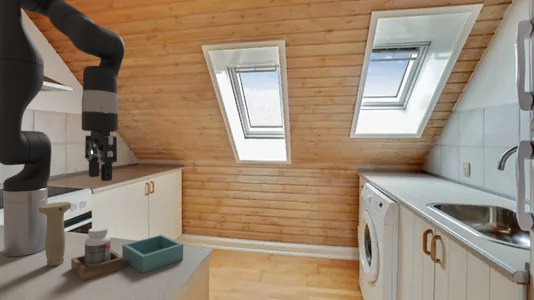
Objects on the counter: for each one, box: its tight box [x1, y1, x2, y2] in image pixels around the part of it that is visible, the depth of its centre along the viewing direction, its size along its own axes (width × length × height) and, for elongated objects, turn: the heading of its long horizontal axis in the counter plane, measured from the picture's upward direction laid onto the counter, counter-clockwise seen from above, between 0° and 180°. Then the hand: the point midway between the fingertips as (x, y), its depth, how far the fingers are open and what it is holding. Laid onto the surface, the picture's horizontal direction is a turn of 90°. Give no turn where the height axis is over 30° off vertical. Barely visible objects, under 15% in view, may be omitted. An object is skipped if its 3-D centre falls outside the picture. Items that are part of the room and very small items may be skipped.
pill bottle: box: [84, 226, 111, 267], centre depth 68 cm, size 5×5×10 cm
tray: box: [121, 234, 184, 274], centre depth 74 cm, size 11×11×4 cm
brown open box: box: [70, 248, 125, 282], centre depth 68 cm, size 9×9×2 cm
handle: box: [39, 201, 72, 267], centre depth 70 cm, size 5×6×15 cm
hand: (100, 178), depth 68 cm, fingers open, 8 cm apart
